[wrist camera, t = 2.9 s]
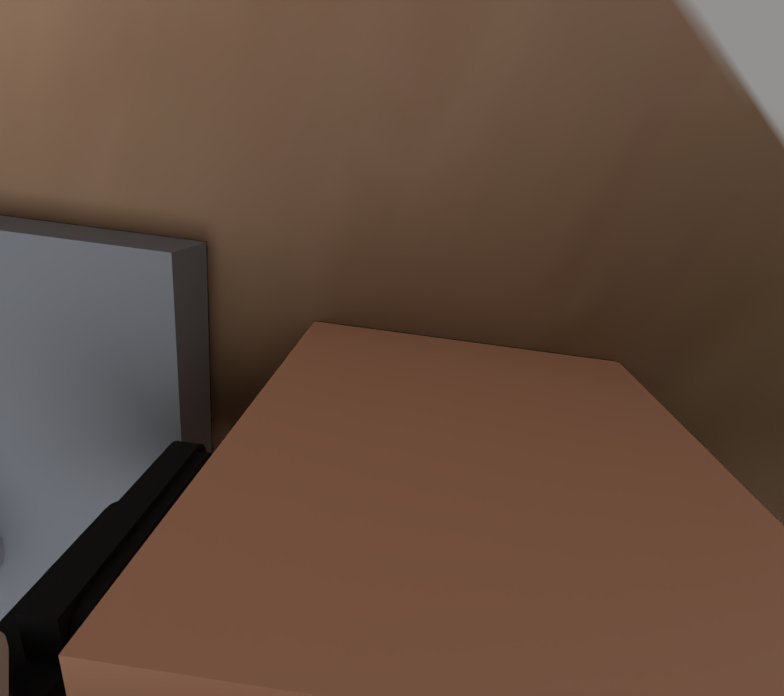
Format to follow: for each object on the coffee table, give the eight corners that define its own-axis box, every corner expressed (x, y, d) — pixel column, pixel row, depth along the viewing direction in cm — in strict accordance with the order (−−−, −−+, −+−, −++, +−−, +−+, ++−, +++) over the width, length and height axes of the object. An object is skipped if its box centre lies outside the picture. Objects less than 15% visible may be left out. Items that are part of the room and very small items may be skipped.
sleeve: (618, 361, 11) (1072, 812, 3) (546, 591, 13) (703, 1145, 6) (313, 321, 11) (59, 654, 3) (300, 554, 13) (136, 1045, 6)
